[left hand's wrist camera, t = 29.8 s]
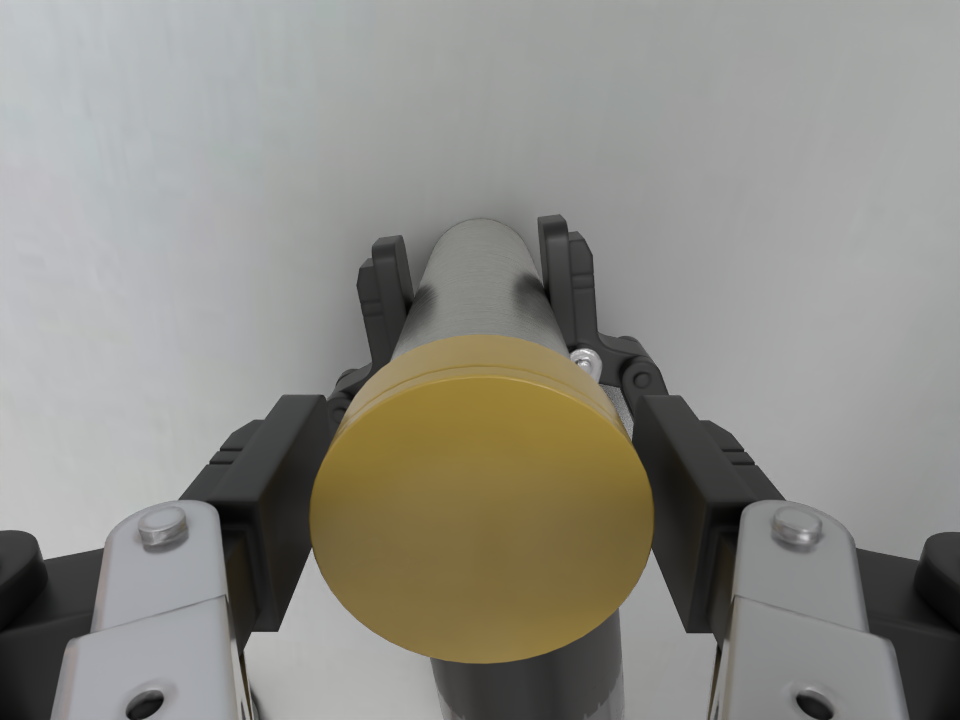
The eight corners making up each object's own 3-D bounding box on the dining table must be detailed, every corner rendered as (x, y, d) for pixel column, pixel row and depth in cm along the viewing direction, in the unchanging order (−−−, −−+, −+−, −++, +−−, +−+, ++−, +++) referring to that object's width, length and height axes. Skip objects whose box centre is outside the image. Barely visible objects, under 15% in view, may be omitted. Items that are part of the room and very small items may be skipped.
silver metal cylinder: (508, 201, 24) (556, 329, 9) (547, 296, 26) (649, 550, 10) (411, 244, 25) (300, 435, 9) (455, 335, 26) (420, 629, 11)
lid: (317, 337, 10) (282, 380, 8) (636, 327, 10) (669, 369, 8) (351, 590, 12) (330, 669, 10) (620, 584, 11) (644, 660, 10)
